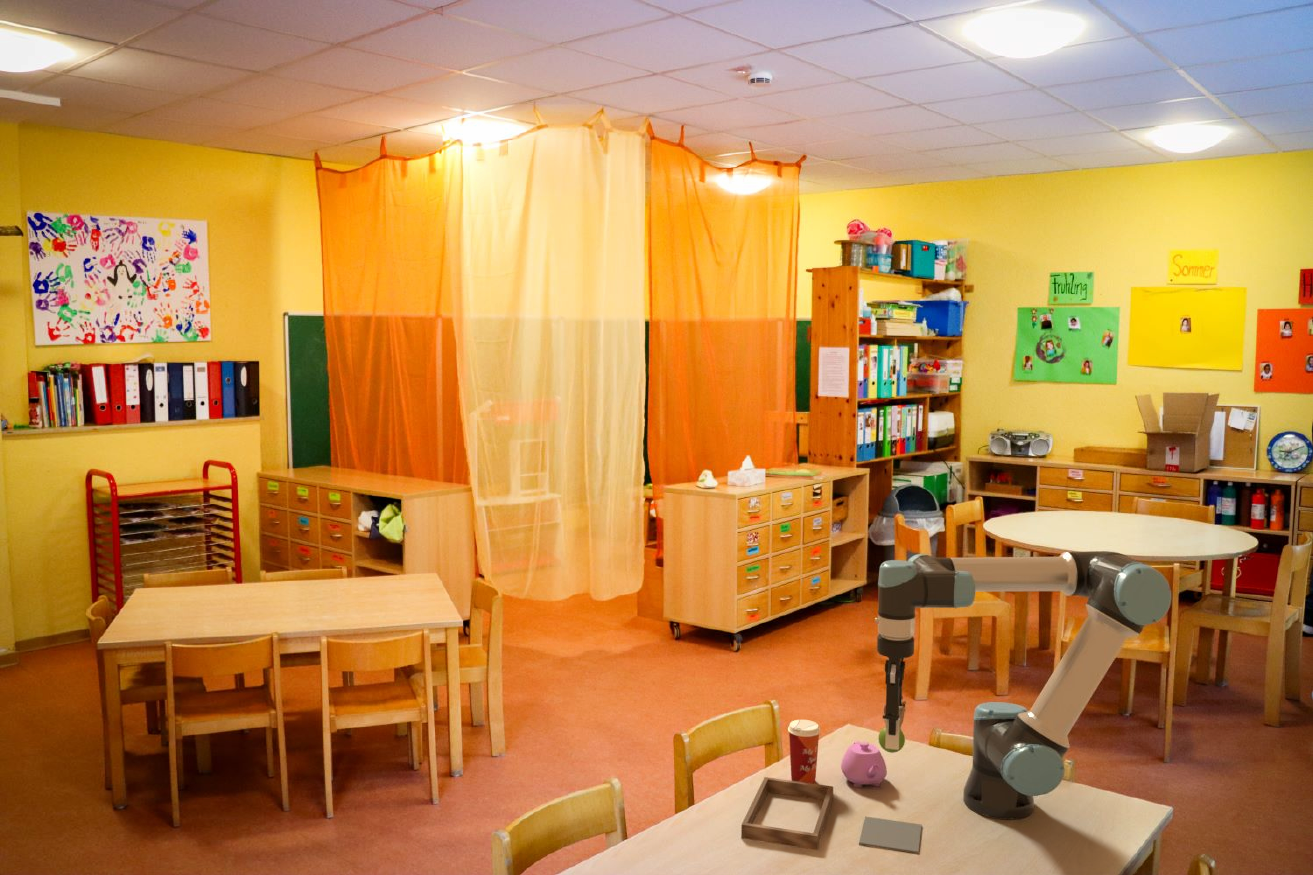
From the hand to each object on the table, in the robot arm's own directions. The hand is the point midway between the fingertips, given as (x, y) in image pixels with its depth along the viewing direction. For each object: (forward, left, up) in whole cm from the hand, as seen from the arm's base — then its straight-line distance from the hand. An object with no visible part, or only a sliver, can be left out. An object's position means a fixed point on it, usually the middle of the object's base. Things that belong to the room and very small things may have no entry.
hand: (893, 742), depth 210 cm
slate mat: (0, 0, -21) cm, 21 cm away
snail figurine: (0, 0, -2) cm, 2 cm away
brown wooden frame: (+22, -1, -21) cm, 30 cm away
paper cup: (+22, -20, -21) cm, 36 cm away
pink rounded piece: (+8, -24, -21) cm, 33 cm away
